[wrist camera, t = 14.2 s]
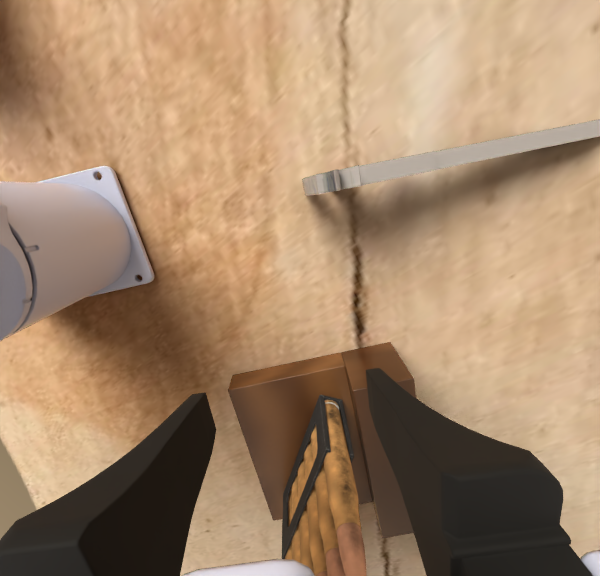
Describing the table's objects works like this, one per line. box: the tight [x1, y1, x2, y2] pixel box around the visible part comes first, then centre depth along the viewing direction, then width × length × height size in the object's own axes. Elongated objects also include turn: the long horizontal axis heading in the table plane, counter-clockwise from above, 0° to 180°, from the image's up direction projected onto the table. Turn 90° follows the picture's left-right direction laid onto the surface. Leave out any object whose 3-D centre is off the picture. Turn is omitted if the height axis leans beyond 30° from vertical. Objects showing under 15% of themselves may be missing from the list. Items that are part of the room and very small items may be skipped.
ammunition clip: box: [282, 395, 366, 576], centre depth 19 cm, size 11×2×12 cm, turn 164°
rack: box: [228, 342, 416, 538], centre depth 24 cm, size 13×14×5 cm
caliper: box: [302, 119, 600, 196], centre depth 18 cm, size 20×1×6 cm, turn 101°
